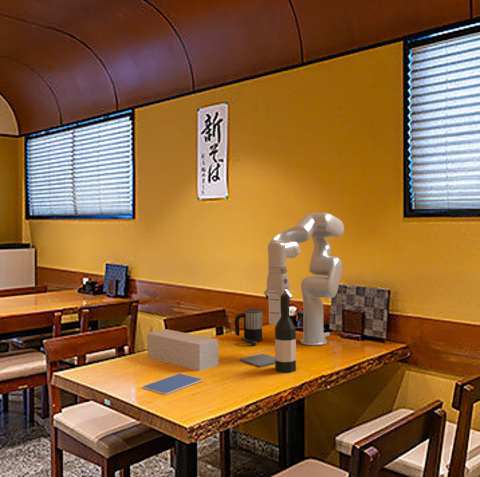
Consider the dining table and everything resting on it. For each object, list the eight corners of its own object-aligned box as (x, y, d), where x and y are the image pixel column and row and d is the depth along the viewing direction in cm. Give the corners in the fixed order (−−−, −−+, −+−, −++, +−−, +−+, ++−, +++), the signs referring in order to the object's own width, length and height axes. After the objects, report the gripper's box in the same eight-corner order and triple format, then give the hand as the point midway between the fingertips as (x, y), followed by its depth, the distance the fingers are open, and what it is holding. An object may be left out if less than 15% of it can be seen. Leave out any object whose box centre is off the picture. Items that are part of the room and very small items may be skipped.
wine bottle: (298, 367, 206) (297, 292, 205) (293, 373, 198) (292, 295, 197) (277, 365, 209) (277, 291, 208) (272, 371, 201) (271, 294, 200)
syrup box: (280, 325, 217) (280, 291, 216) (268, 324, 220) (268, 290, 219) (287, 322, 222) (286, 289, 221) (275, 321, 225) (274, 288, 224)
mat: (262, 355, 225) (262, 353, 225) (283, 361, 215) (283, 359, 215) (239, 360, 217) (239, 358, 217) (260, 367, 207) (260, 365, 207)
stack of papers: (147, 357, 224) (147, 333, 224) (166, 352, 232) (165, 329, 232) (199, 371, 203) (199, 344, 203) (218, 365, 211) (218, 339, 211)
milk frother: (258, 337, 260) (257, 308, 259) (272, 344, 245) (272, 313, 244) (231, 340, 254) (231, 310, 253) (245, 347, 239) (244, 315, 239)
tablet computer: (165, 397, 175) (165, 393, 175) (140, 389, 183) (140, 386, 183) (204, 382, 191) (204, 379, 191) (179, 376, 198) (179, 372, 198)
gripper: (298, 271, 216) (298, 314, 216) (269, 268, 229) (270, 308, 230) (285, 273, 211) (285, 316, 212) (257, 270, 224) (257, 311, 225)
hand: (277, 312), depth 221 cm, fingers closed on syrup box, 6 cm apart
